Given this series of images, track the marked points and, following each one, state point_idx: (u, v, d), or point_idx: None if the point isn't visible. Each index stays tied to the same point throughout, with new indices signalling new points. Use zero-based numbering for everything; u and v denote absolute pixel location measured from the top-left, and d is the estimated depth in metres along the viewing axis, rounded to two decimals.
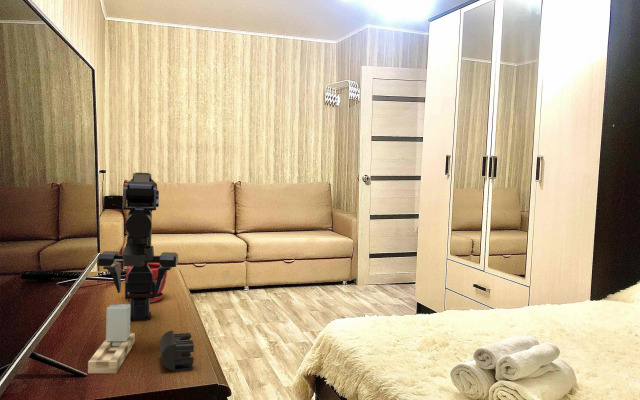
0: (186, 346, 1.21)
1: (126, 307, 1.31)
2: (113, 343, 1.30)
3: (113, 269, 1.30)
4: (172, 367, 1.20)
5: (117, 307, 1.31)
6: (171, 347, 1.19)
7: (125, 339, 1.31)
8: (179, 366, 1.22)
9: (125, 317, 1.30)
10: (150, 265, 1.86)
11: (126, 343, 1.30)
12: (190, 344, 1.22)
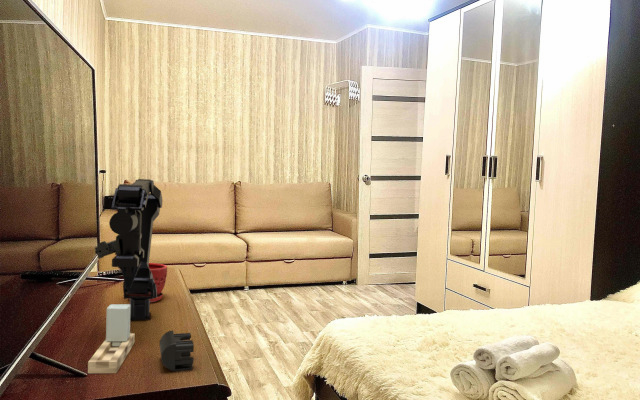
0: (186, 346, 1.21)
1: (126, 307, 1.31)
2: (113, 343, 1.30)
3: None
4: (172, 367, 1.20)
5: (117, 307, 1.31)
6: (171, 347, 1.19)
7: (125, 339, 1.31)
8: (179, 366, 1.22)
9: (125, 317, 1.30)
10: (150, 265, 1.86)
11: (126, 343, 1.30)
12: (190, 344, 1.22)
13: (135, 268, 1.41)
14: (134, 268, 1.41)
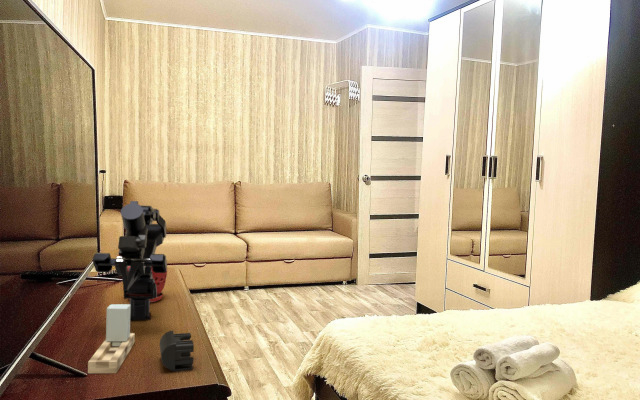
0: (186, 346, 1.21)
1: (126, 307, 1.31)
2: (113, 343, 1.30)
3: (123, 263, 1.41)
4: (172, 367, 1.20)
5: (117, 307, 1.31)
6: (171, 347, 1.19)
7: (125, 339, 1.31)
8: (179, 366, 1.22)
9: (125, 317, 1.30)
10: None
11: (126, 343, 1.30)
12: (190, 344, 1.22)
13: (138, 275, 1.45)
14: (137, 274, 1.44)
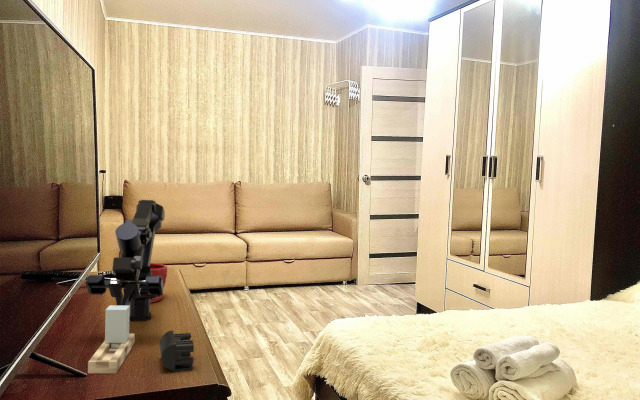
0: (186, 346, 1.21)
1: (125, 308, 1.30)
2: (112, 344, 1.29)
3: (118, 286, 1.35)
4: (172, 367, 1.20)
5: (116, 308, 1.30)
6: (171, 347, 1.19)
7: (124, 340, 1.30)
8: (179, 366, 1.22)
9: (124, 318, 1.29)
10: (150, 265, 1.86)
11: (126, 343, 1.30)
12: (190, 344, 1.22)
13: (133, 297, 1.39)
14: (133, 297, 1.39)
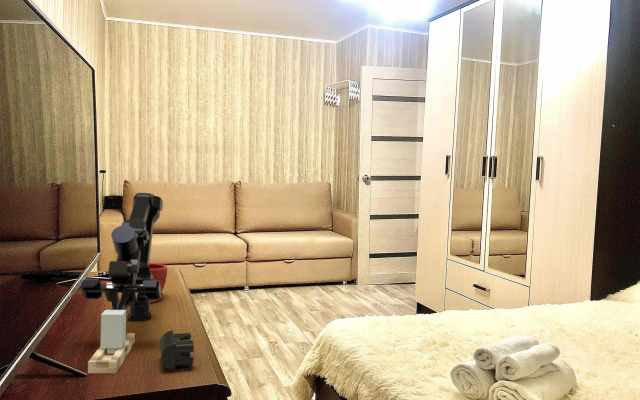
0: (186, 346, 1.21)
1: (121, 313, 1.26)
2: (107, 350, 1.25)
3: (114, 290, 1.31)
4: (172, 367, 1.20)
5: (112, 313, 1.26)
6: (171, 347, 1.19)
7: (120, 346, 1.26)
8: (179, 366, 1.22)
9: (120, 323, 1.25)
10: (150, 265, 1.86)
11: (126, 343, 1.30)
12: (190, 344, 1.22)
13: (129, 302, 1.35)
14: (129, 301, 1.35)
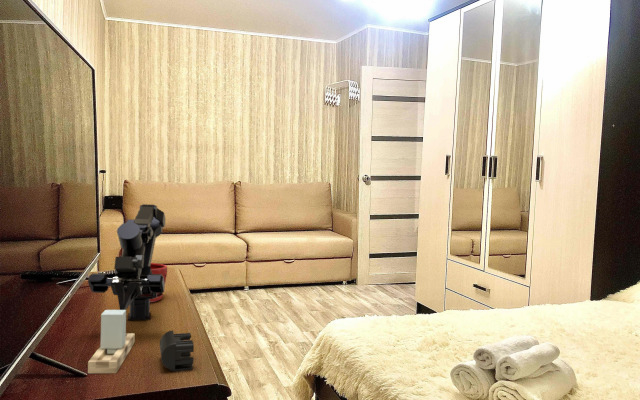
0: (186, 346, 1.21)
1: (121, 313, 1.26)
2: (107, 350, 1.25)
3: (120, 284, 1.38)
4: (172, 367, 1.20)
5: (112, 313, 1.26)
6: (171, 347, 1.19)
7: (120, 346, 1.26)
8: (179, 366, 1.22)
9: (120, 323, 1.25)
10: None
11: (126, 343, 1.30)
12: (190, 344, 1.22)
13: (135, 295, 1.41)
14: (134, 295, 1.41)
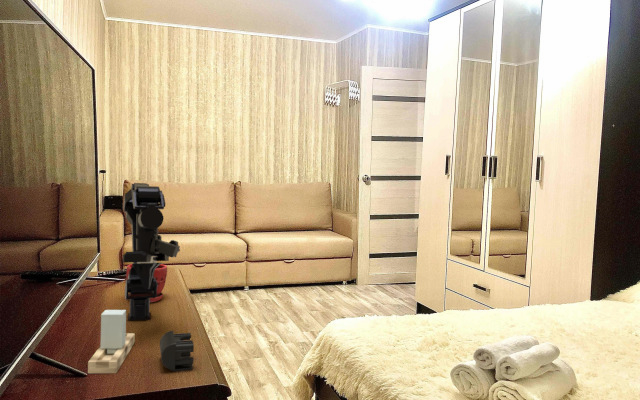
0: (186, 346, 1.21)
1: (121, 313, 1.26)
2: (107, 350, 1.25)
3: (155, 264, 1.44)
4: (172, 367, 1.20)
5: (112, 313, 1.26)
6: (171, 347, 1.19)
7: (120, 346, 1.26)
8: (179, 366, 1.22)
9: (120, 323, 1.25)
10: None
11: (126, 343, 1.30)
12: (190, 344, 1.22)
13: None
14: None
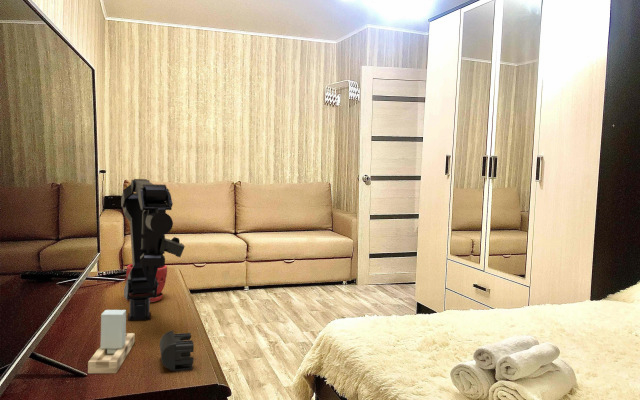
0: (186, 346, 1.21)
1: (121, 313, 1.26)
2: (107, 350, 1.25)
3: None
4: (172, 367, 1.20)
5: (112, 313, 1.26)
6: (171, 347, 1.19)
7: (120, 346, 1.26)
8: (179, 366, 1.22)
9: (120, 323, 1.25)
10: None
11: (126, 343, 1.30)
12: (190, 344, 1.22)
13: None
14: None
